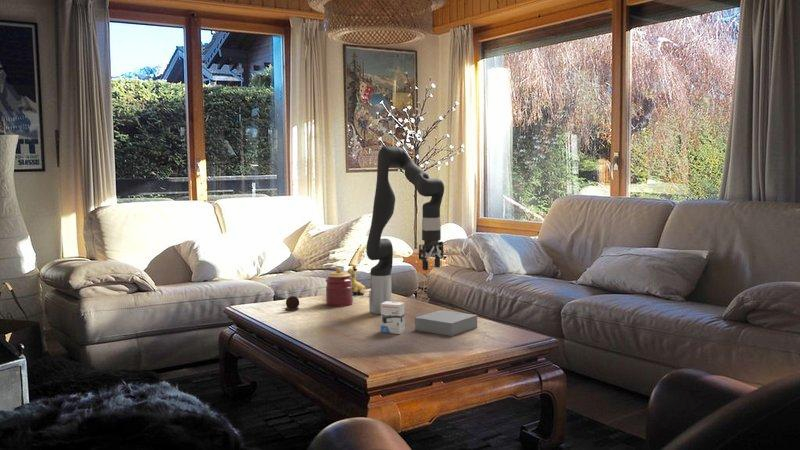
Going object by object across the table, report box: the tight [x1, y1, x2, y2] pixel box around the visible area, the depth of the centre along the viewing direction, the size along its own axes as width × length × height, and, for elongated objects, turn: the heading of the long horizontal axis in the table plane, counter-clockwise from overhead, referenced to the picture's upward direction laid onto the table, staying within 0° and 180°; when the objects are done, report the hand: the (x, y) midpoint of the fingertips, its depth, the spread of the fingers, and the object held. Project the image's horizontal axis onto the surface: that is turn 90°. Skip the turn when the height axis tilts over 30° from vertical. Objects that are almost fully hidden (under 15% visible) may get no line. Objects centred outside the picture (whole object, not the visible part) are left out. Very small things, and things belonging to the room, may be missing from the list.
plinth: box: [414, 309, 478, 337], centre depth 281 cm, size 18×18×5 cm
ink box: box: [380, 301, 406, 335], centre depth 277 cm, size 8×5×12 cm, turn 68°
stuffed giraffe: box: [346, 265, 369, 299], centre depth 358 cm, size 16×18×16 cm
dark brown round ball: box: [281, 295, 300, 312], centre depth 323 cm, size 8×8×7 cm
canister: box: [325, 267, 354, 307], centre depth 335 cm, size 13×13×18 cm
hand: (431, 268), depth 281 cm, fingers open, 8 cm apart
